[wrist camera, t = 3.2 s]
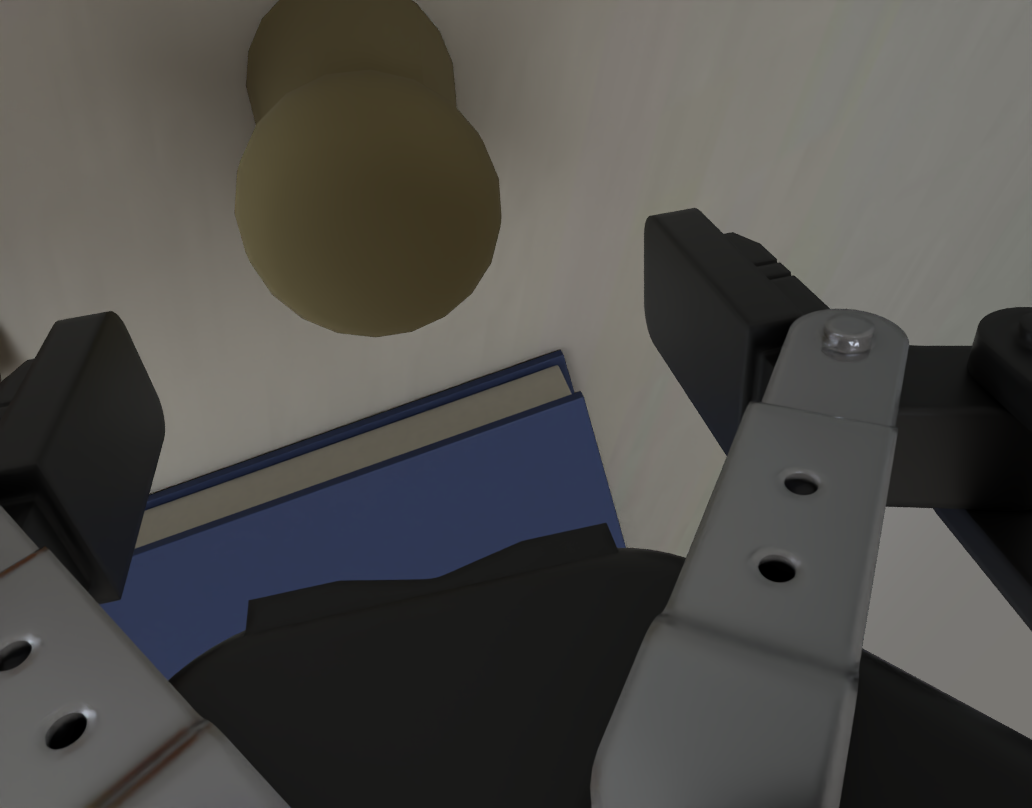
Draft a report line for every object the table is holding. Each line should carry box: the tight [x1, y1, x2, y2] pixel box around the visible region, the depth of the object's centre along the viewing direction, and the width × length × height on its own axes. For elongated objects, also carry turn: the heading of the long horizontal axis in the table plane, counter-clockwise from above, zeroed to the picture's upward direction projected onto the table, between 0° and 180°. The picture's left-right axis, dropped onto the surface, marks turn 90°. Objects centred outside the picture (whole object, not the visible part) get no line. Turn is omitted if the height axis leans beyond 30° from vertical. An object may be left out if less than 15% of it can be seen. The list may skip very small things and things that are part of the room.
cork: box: [235, 0, 501, 337], centre depth 19 cm, size 6×6×11 cm
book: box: [100, 350, 626, 680], centre depth 33 cm, size 20×14×3 cm
